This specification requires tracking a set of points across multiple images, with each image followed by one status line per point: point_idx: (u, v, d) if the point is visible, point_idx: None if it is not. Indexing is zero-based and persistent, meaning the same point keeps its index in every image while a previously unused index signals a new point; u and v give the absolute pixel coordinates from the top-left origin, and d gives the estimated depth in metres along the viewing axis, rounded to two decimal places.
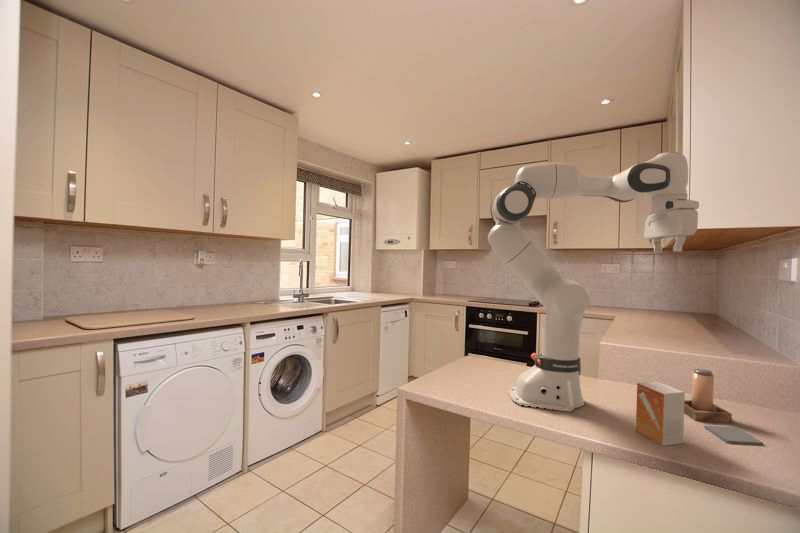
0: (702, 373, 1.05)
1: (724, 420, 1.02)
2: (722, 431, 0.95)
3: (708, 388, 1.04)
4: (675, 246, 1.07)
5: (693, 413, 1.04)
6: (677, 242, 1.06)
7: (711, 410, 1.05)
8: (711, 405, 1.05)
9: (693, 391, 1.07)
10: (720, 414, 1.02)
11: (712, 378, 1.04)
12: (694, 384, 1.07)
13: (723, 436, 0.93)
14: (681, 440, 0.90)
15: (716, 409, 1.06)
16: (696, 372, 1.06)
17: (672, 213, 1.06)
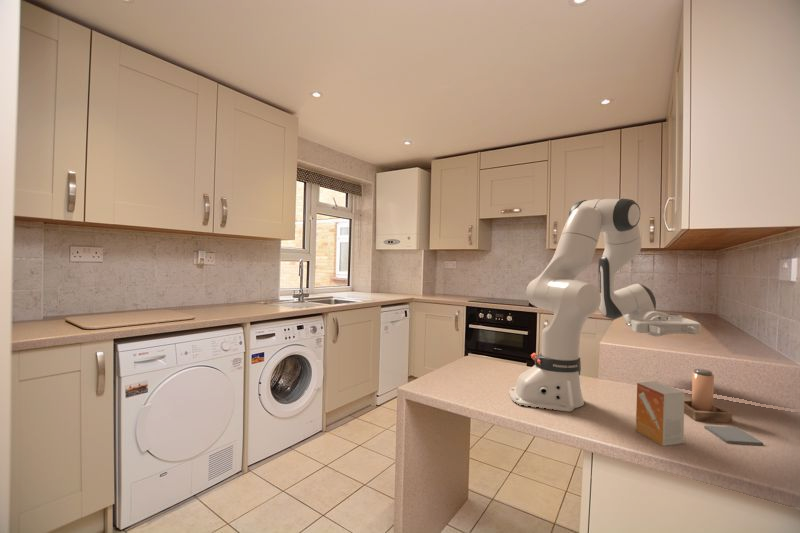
0: (702, 373, 1.05)
1: (724, 420, 1.02)
2: (722, 431, 0.95)
3: (708, 388, 1.04)
4: (693, 328, 1.19)
5: (693, 413, 1.04)
6: (693, 327, 1.20)
7: (711, 410, 1.05)
8: (711, 405, 1.05)
9: (693, 391, 1.07)
10: (720, 414, 1.02)
11: (712, 378, 1.04)
12: (694, 384, 1.07)
13: (723, 436, 0.93)
14: (681, 440, 0.90)
15: (716, 409, 1.06)
16: (696, 372, 1.06)
17: (678, 318, 1.28)
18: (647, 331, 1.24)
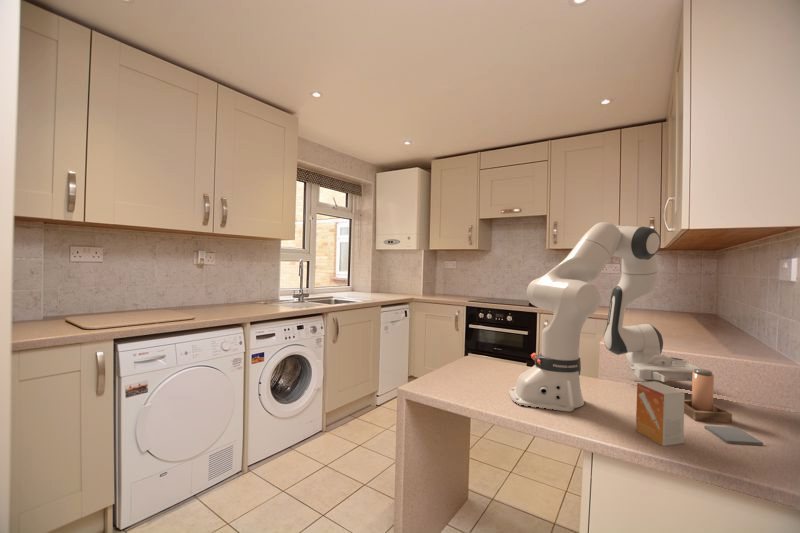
0: (702, 373, 1.05)
1: (724, 420, 1.02)
2: (722, 431, 0.95)
3: (708, 388, 1.04)
4: None
5: (693, 413, 1.04)
6: None
7: (711, 410, 1.05)
8: (711, 405, 1.05)
9: (693, 391, 1.07)
10: (720, 414, 1.02)
11: (712, 378, 1.04)
12: (694, 384, 1.07)
13: (723, 436, 0.93)
14: (681, 440, 0.90)
15: (716, 409, 1.06)
16: (696, 372, 1.06)
17: (682, 363, 1.26)
18: (651, 378, 1.21)
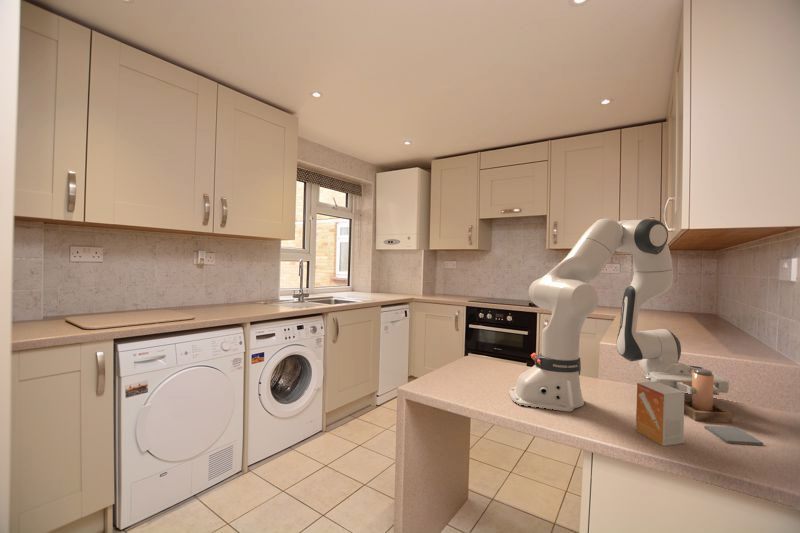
0: (702, 373, 1.05)
1: (724, 420, 1.02)
2: (722, 431, 0.95)
3: (708, 388, 1.04)
4: (715, 387, 1.07)
5: (693, 413, 1.04)
6: (714, 386, 1.08)
7: (711, 410, 1.05)
8: (711, 405, 1.05)
9: None
10: (720, 414, 1.02)
11: (712, 378, 1.04)
12: (694, 384, 1.07)
13: (723, 436, 0.93)
14: (681, 440, 0.90)
15: (716, 409, 1.06)
16: (696, 372, 1.06)
17: None
18: None
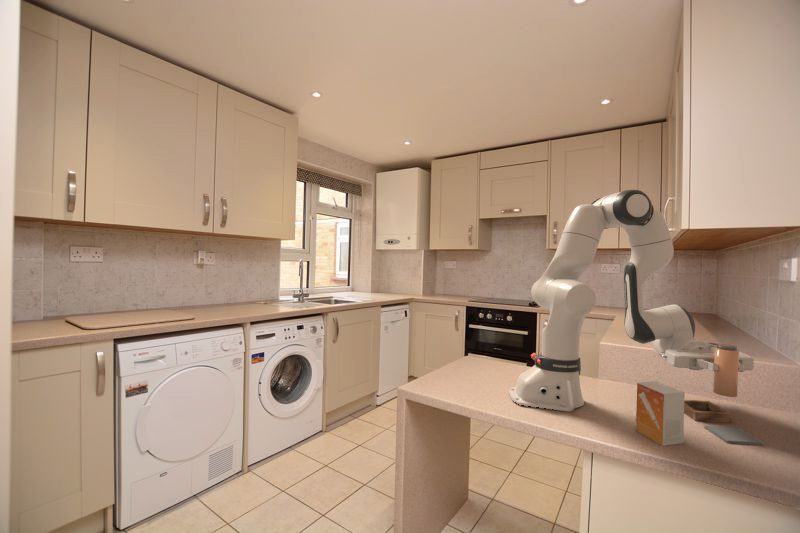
0: (726, 348, 0.95)
1: (724, 420, 1.02)
2: (722, 431, 0.95)
3: (733, 363, 0.94)
4: (739, 364, 0.97)
5: (693, 413, 1.04)
6: (739, 363, 0.98)
7: (736, 388, 0.95)
8: (736, 383, 0.95)
9: None
10: (720, 414, 1.02)
11: (737, 353, 0.95)
12: (716, 360, 0.97)
13: (723, 436, 0.93)
14: (681, 440, 0.90)
15: (716, 409, 1.06)
16: (719, 347, 0.97)
17: None
18: (688, 366, 1.01)
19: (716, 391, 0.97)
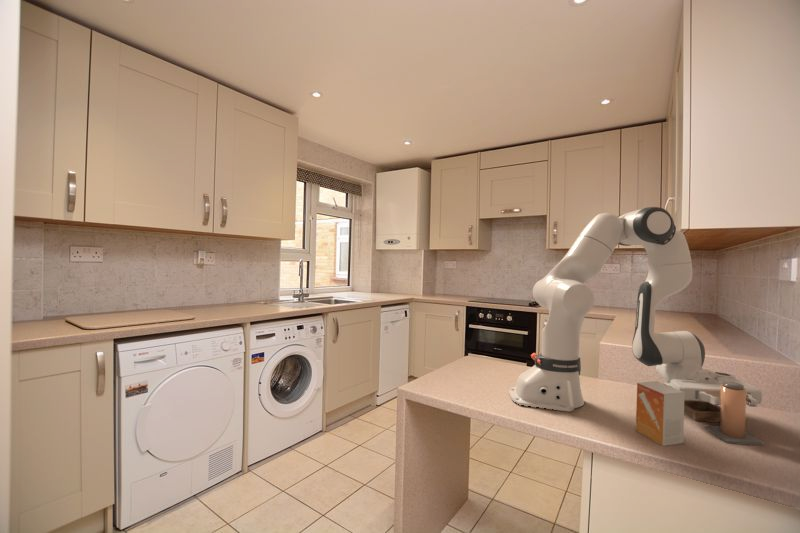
0: (732, 387, 0.92)
1: None
2: None
3: (740, 404, 0.91)
4: (752, 398, 0.94)
5: (693, 413, 1.04)
6: (751, 397, 0.95)
7: (744, 429, 0.92)
8: (744, 423, 0.92)
9: (722, 407, 0.94)
10: None
11: (744, 393, 0.92)
12: (723, 400, 0.94)
13: (723, 436, 0.93)
14: (681, 440, 0.90)
15: (716, 409, 1.06)
16: (725, 386, 0.94)
17: (730, 379, 1.03)
18: (694, 398, 0.99)
19: (723, 431, 0.94)
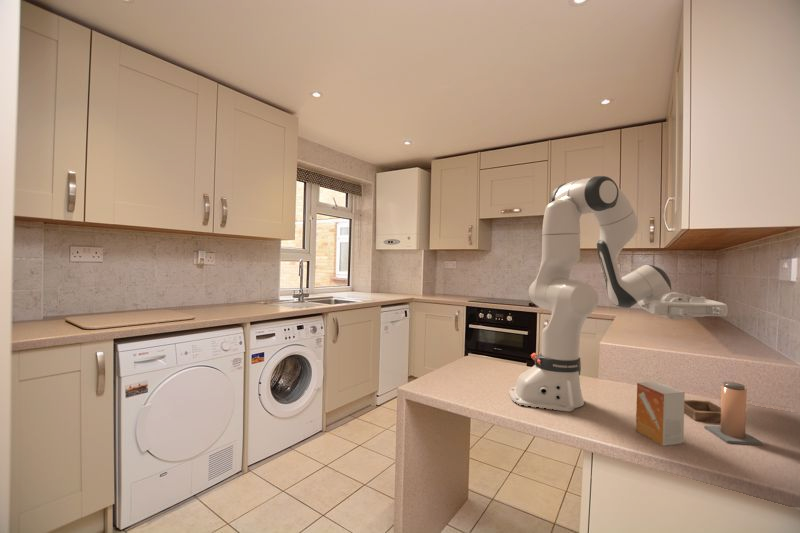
0: (733, 387, 0.92)
1: None
2: None
3: (741, 404, 0.91)
4: (719, 309, 1.06)
5: (693, 413, 1.04)
6: (719, 308, 1.07)
7: (744, 429, 0.92)
8: (744, 423, 0.92)
9: (722, 407, 0.94)
10: (720, 414, 1.02)
11: (745, 393, 0.92)
12: (723, 399, 0.94)
13: (723, 436, 0.93)
14: (681, 440, 0.90)
15: (716, 409, 1.06)
16: (726, 386, 0.94)
17: (700, 299, 1.15)
18: (667, 313, 1.11)
19: (723, 431, 0.94)
